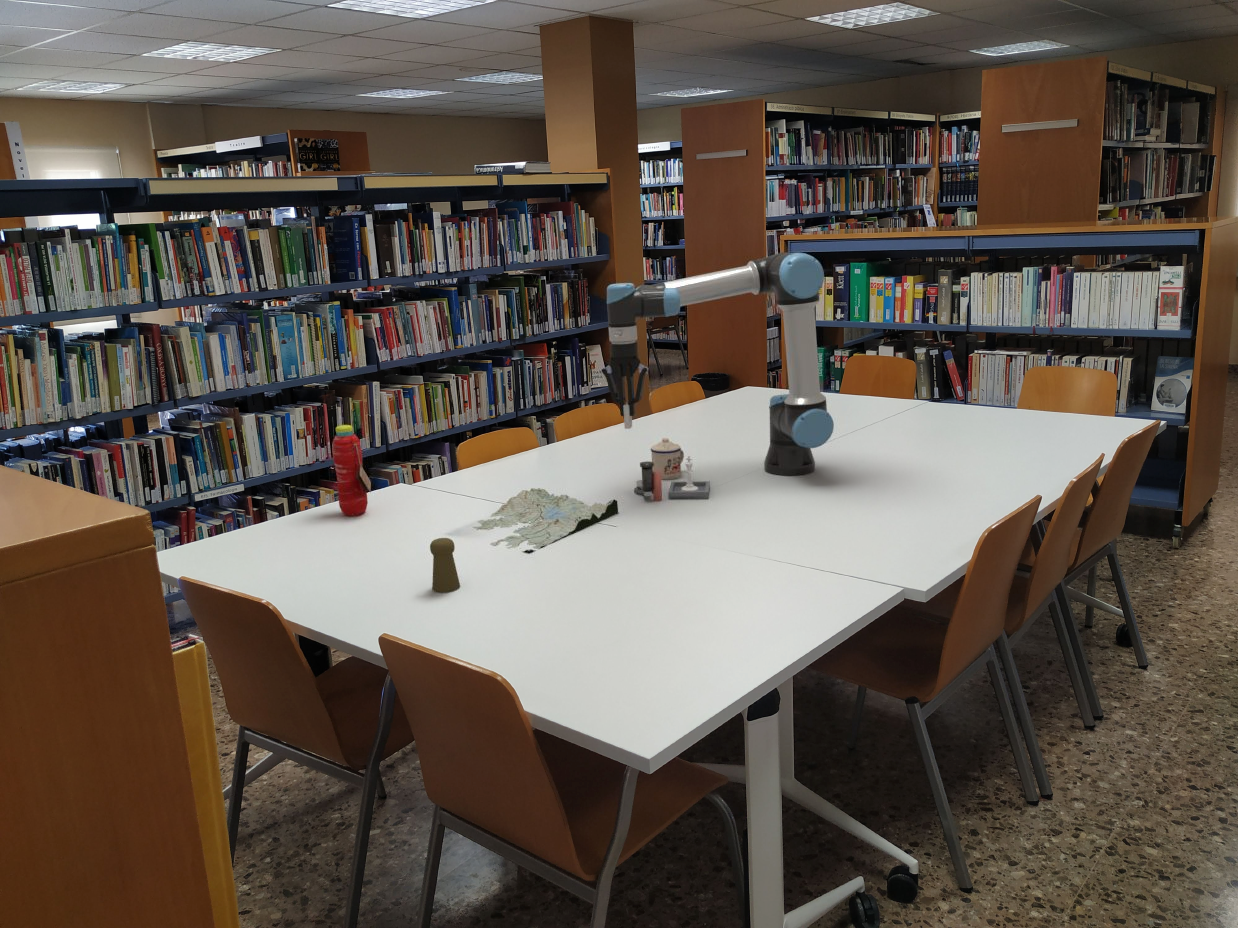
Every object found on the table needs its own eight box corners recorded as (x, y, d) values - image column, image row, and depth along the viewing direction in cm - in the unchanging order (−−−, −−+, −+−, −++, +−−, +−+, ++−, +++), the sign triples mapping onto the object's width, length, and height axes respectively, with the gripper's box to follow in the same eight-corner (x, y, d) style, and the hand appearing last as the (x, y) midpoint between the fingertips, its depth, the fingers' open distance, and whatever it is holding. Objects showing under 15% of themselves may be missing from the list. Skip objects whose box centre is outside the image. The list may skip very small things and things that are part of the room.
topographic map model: (529, 556, 221) (528, 536, 219) (443, 537, 238) (441, 518, 237) (618, 515, 248) (617, 497, 247) (535, 500, 265) (534, 483, 264)
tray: (709, 487, 267) (709, 481, 267) (708, 499, 257) (708, 492, 256) (671, 488, 269) (671, 481, 268) (668, 499, 258) (668, 492, 258)
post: (662, 498, 259) (661, 470, 257) (661, 500, 257) (660, 473, 255) (653, 498, 260) (652, 470, 258) (653, 501, 257) (651, 473, 255)
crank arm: (635, 485, 268) (634, 454, 266) (650, 484, 268) (649, 453, 266) (641, 498, 255) (639, 465, 253) (657, 497, 256) (655, 464, 253)
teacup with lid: (667, 481, 276) (665, 443, 273) (645, 476, 282) (643, 439, 279) (694, 473, 283) (693, 436, 281) (672, 468, 290) (671, 432, 287)
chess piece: (686, 487, 266) (685, 453, 263) (701, 489, 263) (700, 455, 261) (677, 491, 262) (676, 457, 259) (692, 494, 259) (692, 459, 257)
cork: (433, 583, 205) (428, 536, 202) (461, 581, 205) (456, 533, 202) (430, 593, 199) (425, 545, 196) (459, 591, 199) (454, 543, 197)
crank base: (655, 488, 269) (655, 485, 268) (653, 494, 263) (653, 491, 263) (635, 489, 270) (635, 485, 269) (632, 495, 264) (632, 491, 264)
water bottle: (383, 513, 258) (373, 425, 252) (359, 521, 252) (348, 431, 246) (356, 506, 265) (346, 421, 259) (333, 514, 259) (321, 426, 253)
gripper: (596, 344, 248) (602, 430, 254) (643, 343, 245) (648, 430, 251) (604, 340, 255) (609, 424, 261) (650, 339, 252) (654, 424, 258)
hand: (628, 427), depth 256 cm, fingers closed
